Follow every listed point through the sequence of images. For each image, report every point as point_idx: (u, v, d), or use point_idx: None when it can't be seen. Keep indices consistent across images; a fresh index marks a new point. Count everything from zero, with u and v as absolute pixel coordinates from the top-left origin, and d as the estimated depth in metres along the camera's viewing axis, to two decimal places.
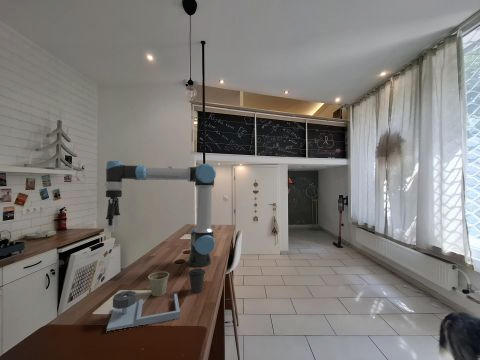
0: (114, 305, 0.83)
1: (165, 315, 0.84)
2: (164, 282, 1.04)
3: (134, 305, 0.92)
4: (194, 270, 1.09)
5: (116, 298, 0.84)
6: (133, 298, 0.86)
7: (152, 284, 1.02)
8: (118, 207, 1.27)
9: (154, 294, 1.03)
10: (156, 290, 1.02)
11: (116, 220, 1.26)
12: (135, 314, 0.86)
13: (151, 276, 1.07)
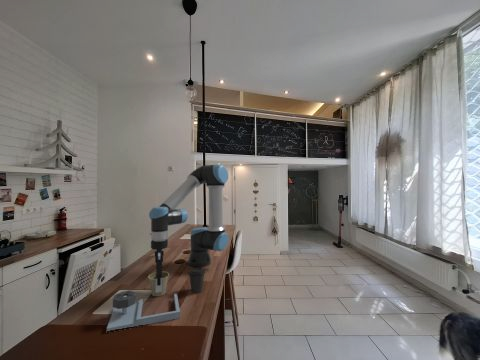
0: (114, 305, 0.83)
1: (165, 315, 0.84)
2: (164, 282, 1.04)
3: (134, 305, 0.92)
4: (194, 270, 1.09)
5: (116, 298, 0.84)
6: (133, 298, 0.86)
7: (152, 284, 1.02)
8: None
9: (154, 294, 1.03)
10: None
11: None
12: (135, 314, 0.86)
13: (151, 276, 1.07)
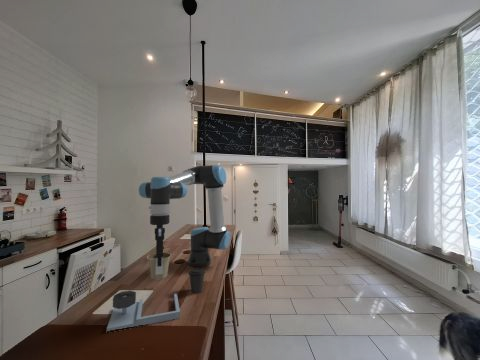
0: (114, 305, 0.83)
1: (165, 315, 0.84)
2: (165, 263, 0.89)
3: (134, 305, 0.92)
4: (194, 270, 1.09)
5: (116, 298, 0.84)
6: (133, 298, 0.86)
7: (151, 265, 0.88)
8: None
9: (154, 277, 0.88)
10: None
11: None
12: (135, 314, 0.86)
13: (150, 257, 0.92)
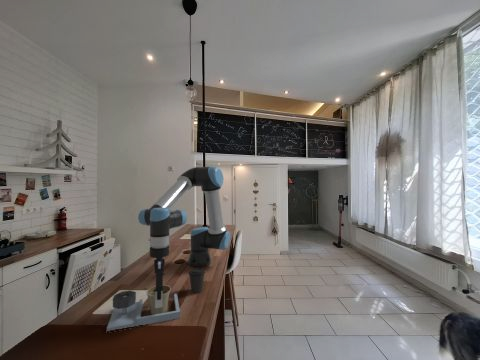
0: (114, 305, 0.83)
1: (165, 315, 0.84)
2: (165, 298, 0.89)
3: (134, 305, 0.92)
4: (194, 270, 1.09)
5: (116, 298, 0.84)
6: (133, 298, 0.86)
7: (151, 301, 0.87)
8: None
9: (153, 313, 0.88)
10: (155, 308, 0.87)
11: None
12: (135, 314, 0.86)
13: (150, 291, 0.92)
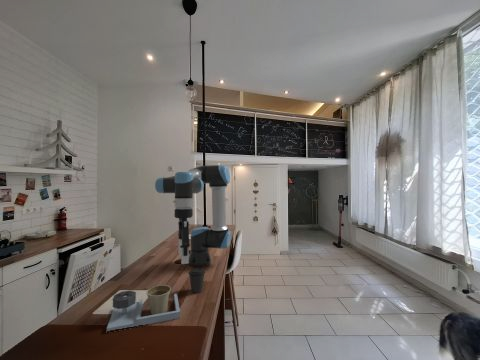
0: (114, 305, 0.83)
1: (165, 315, 0.84)
2: (165, 298, 0.89)
3: (134, 305, 0.92)
4: (194, 270, 1.09)
5: (116, 298, 0.84)
6: (133, 298, 0.86)
7: (151, 301, 0.87)
8: None
9: (153, 313, 0.88)
10: (155, 308, 0.87)
11: None
12: (135, 314, 0.86)
13: (150, 291, 0.92)
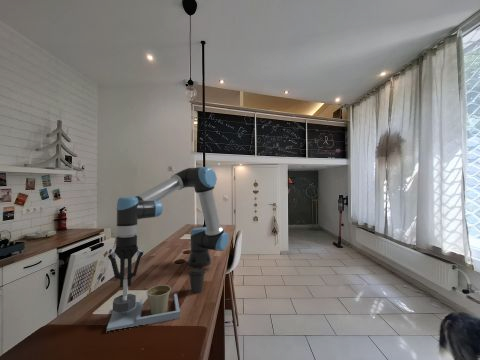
0: (114, 308, 0.83)
1: (165, 315, 0.84)
2: (165, 298, 0.89)
3: None
4: (194, 270, 1.09)
5: (116, 301, 0.84)
6: (133, 301, 0.86)
7: (151, 301, 0.87)
8: (135, 265, 0.90)
9: (153, 313, 0.88)
10: (155, 308, 0.87)
11: None
12: (135, 314, 0.86)
13: (150, 291, 0.92)
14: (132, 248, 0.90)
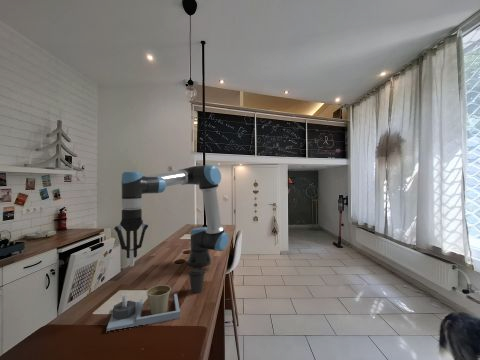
0: (114, 316, 0.83)
1: (165, 315, 0.84)
2: (165, 298, 0.89)
3: None
4: (194, 270, 1.09)
5: (116, 308, 0.84)
6: (133, 309, 0.86)
7: (151, 301, 0.87)
8: None
9: (153, 313, 0.88)
10: (155, 308, 0.87)
11: None
12: (135, 314, 0.86)
13: (150, 291, 0.92)
14: (137, 221, 0.93)
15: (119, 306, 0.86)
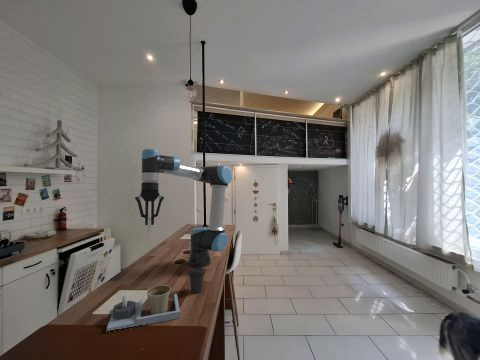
0: (114, 316, 0.83)
1: (165, 315, 0.84)
2: (165, 298, 0.89)
3: None
4: (194, 270, 1.09)
5: (116, 308, 0.84)
6: (133, 309, 0.86)
7: (151, 301, 0.87)
8: (157, 207, 1.05)
9: (153, 313, 0.88)
10: (155, 308, 0.87)
11: None
12: (135, 314, 0.86)
13: (150, 291, 0.92)
14: (155, 192, 1.05)
15: (119, 306, 0.86)
